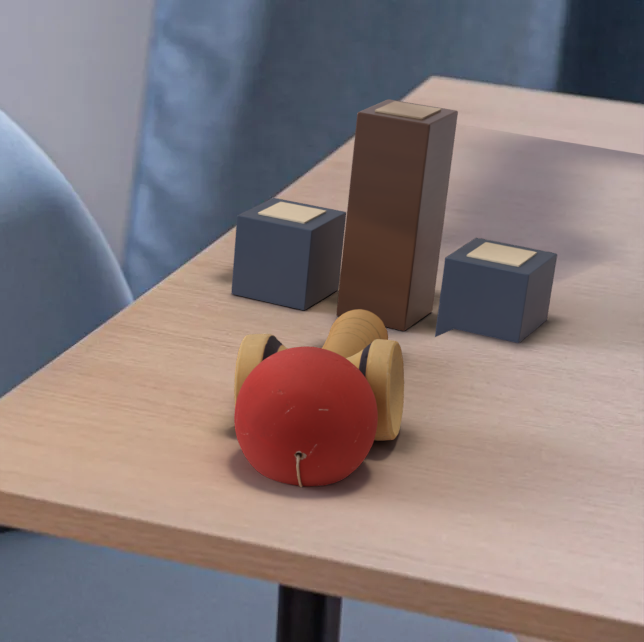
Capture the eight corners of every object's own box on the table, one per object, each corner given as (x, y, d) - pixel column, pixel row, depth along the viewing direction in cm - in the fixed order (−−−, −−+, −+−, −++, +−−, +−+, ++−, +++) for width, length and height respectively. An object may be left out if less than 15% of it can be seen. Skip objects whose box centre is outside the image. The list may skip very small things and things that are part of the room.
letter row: (230, 294, 98) (236, 213, 96) (267, 274, 101) (273, 195, 99) (516, 358, 90) (529, 272, 88) (544, 334, 94) (558, 251, 92)
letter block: (365, 297, 98) (387, 96, 93) (432, 311, 96) (459, 108, 91) (335, 316, 95) (356, 110, 90) (404, 331, 93) (430, 122, 88)
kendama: (261, 379, 90) (180, 470, 73) (297, 260, 87) (222, 326, 71) (407, 427, 88) (359, 531, 72) (447, 308, 86) (407, 386, 69)
